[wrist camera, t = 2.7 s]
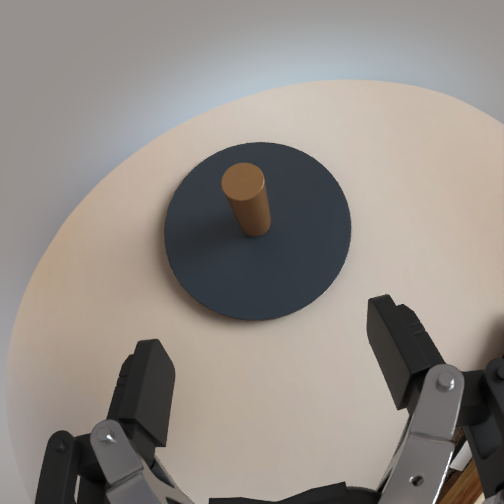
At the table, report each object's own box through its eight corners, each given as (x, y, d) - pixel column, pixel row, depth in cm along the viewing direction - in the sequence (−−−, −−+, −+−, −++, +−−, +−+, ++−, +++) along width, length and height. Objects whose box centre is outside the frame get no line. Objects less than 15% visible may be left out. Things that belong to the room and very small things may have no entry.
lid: (181, 334, 24) (133, 335, 16) (163, 171, 28) (126, 122, 20) (369, 297, 23) (406, 281, 15) (320, 136, 27) (327, 75, 19)
